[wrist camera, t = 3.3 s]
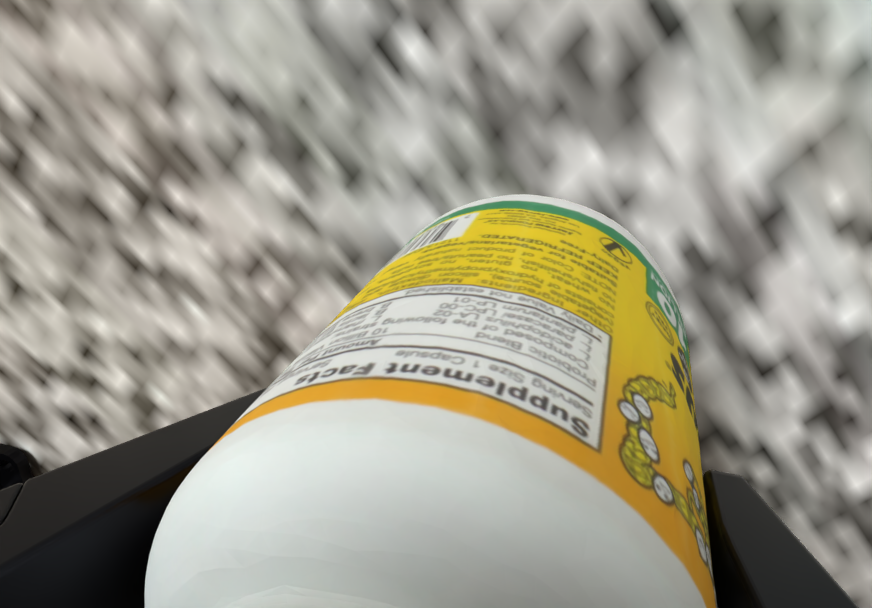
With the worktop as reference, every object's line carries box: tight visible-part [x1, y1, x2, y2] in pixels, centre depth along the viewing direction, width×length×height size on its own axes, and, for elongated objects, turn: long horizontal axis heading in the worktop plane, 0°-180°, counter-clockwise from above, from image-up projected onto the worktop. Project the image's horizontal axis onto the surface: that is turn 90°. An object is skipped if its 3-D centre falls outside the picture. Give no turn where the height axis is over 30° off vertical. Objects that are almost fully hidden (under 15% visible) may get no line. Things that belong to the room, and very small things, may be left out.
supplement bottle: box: [144, 194, 717, 608], centre depth 8 cm, size 5×5×10 cm
